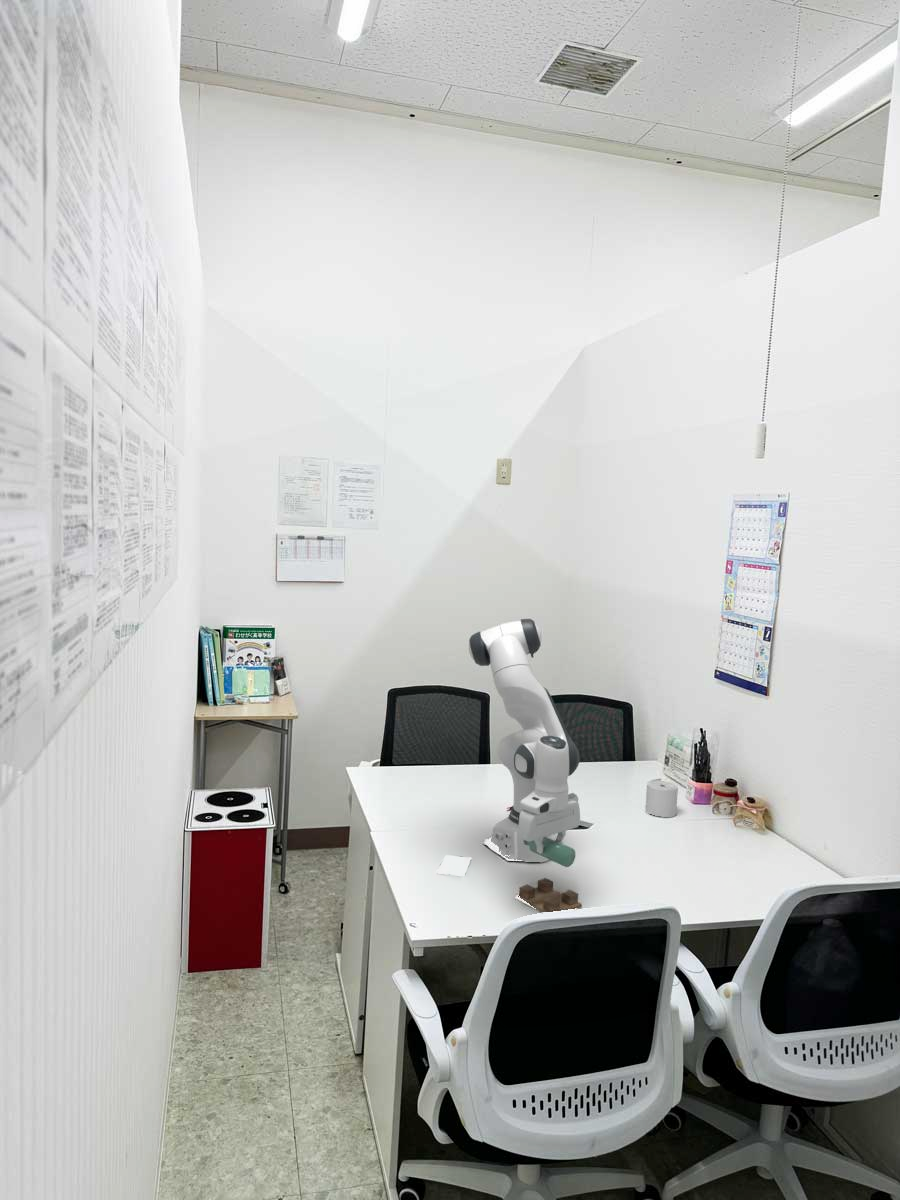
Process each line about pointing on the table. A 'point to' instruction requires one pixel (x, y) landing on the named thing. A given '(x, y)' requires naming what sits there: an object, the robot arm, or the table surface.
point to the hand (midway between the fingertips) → (549, 849)
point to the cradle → (548, 897)
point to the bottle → (554, 851)
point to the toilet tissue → (661, 798)
